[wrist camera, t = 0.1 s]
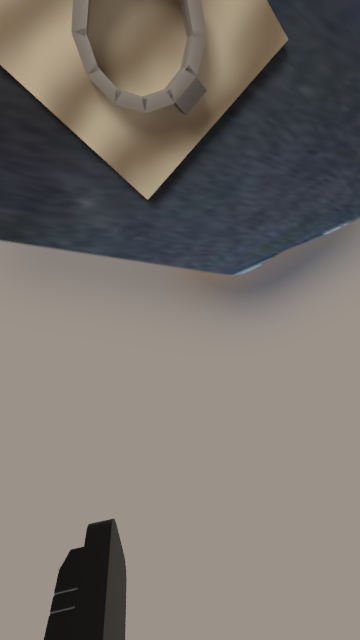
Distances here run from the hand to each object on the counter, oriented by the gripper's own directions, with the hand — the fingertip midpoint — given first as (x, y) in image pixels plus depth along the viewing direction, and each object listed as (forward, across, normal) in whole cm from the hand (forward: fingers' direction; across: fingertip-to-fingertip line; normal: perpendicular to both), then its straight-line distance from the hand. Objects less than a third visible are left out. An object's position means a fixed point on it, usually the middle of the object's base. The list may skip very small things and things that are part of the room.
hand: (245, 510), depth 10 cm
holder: (+25, -1, -24) cm, 34 cm away
